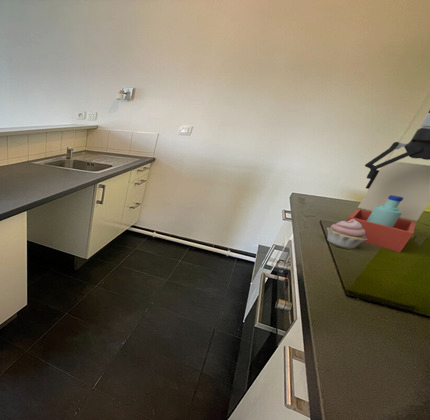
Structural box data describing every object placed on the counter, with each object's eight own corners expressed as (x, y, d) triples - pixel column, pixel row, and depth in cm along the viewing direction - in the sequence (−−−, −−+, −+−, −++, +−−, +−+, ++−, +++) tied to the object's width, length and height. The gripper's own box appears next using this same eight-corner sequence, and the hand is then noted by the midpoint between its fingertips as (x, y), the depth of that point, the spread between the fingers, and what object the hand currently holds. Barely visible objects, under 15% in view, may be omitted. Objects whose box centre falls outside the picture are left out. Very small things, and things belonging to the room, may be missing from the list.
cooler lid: (452, 168, 79) (452, 168, 80) (385, 160, 90) (385, 160, 91) (416, 221, 86) (416, 220, 86) (357, 207, 97) (358, 207, 97)
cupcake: (315, 236, 90) (328, 211, 86) (349, 242, 86) (364, 217, 82) (328, 248, 82) (343, 221, 78) (366, 255, 78) (384, 228, 74)
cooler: (398, 254, 80) (413, 233, 77) (337, 236, 91) (348, 217, 87) (402, 241, 89) (416, 222, 86) (346, 226, 100) (357, 208, 97)
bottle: (379, 236, 90) (405, 196, 84) (387, 242, 86) (415, 200, 80) (356, 231, 93) (379, 192, 87) (362, 237, 89) (387, 196, 83)
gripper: (375, 124, 82) (342, 184, 91) (522, 133, 64) (464, 208, 72) (377, 125, 86) (346, 182, 95) (517, 133, 68) (463, 204, 76)
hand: (397, 193), depth 83 cm, fingers open, 13 cm apart
